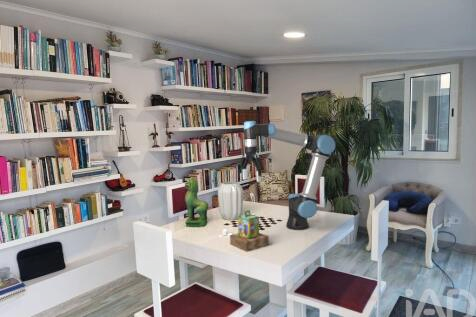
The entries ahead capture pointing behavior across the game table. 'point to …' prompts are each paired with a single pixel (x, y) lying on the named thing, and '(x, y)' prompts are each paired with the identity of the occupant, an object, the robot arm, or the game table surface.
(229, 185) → the vase
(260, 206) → the game table surface
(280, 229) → the game table surface
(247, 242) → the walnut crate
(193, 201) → the lion statue
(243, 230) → the chalk box
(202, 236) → the game table surface
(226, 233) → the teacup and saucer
